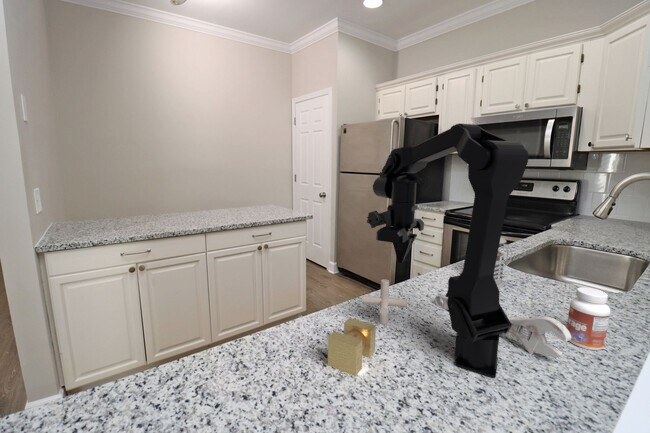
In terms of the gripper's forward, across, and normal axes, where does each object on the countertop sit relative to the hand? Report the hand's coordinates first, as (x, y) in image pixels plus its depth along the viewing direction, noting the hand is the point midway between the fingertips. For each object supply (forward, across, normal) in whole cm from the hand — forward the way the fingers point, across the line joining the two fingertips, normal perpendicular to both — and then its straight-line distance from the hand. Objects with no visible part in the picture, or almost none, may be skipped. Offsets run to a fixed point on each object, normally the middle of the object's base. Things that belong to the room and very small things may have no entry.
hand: (400, 262), depth 77 cm
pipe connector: (+12, +10, 0) cm, 16 cm away
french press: (+12, -31, +19) cm, 38 cm away
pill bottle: (+12, -4, +38) cm, 40 cm away
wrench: (+12, +1, +21) cm, 24 cm away
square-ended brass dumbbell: (+12, +26, 0) cm, 29 cm away
